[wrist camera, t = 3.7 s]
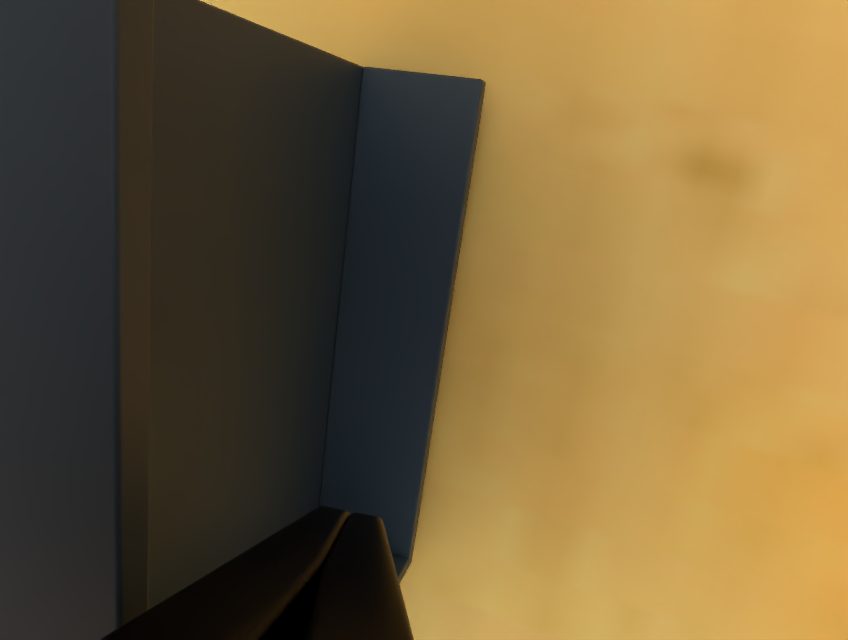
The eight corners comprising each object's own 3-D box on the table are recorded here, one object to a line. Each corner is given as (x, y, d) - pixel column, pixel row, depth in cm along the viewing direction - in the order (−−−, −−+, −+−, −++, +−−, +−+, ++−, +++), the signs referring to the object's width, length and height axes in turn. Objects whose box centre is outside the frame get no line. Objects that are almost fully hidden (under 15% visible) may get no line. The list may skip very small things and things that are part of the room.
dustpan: (292, 701, 21) (-34, 1215, 10) (354, 67, 15) (-230, -163, 5) (383, 741, 20) (124, 1346, 10) (486, 81, 14) (114, -163, 4)
